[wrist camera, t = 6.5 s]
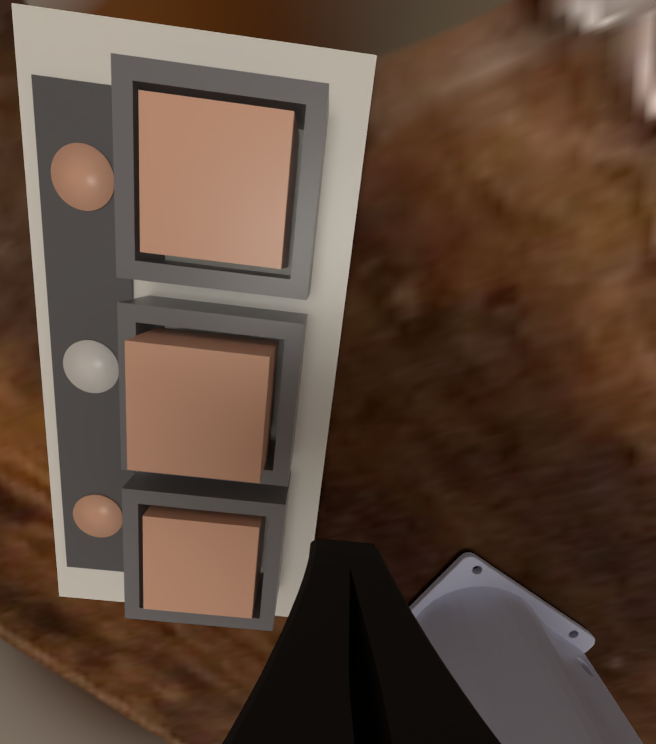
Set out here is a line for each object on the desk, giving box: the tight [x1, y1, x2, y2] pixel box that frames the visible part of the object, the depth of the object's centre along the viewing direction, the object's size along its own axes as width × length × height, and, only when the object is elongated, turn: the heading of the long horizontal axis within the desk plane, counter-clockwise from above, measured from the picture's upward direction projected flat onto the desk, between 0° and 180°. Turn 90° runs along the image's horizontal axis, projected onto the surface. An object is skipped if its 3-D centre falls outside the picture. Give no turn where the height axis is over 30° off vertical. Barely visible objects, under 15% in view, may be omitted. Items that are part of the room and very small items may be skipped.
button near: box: [138, 90, 300, 269], centre depth 13 cm, size 4×4×2 cm
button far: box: [143, 505, 266, 619], centre depth 17 cm, size 4×4×2 cm
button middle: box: [125, 327, 279, 483], centre depth 14 cm, size 4×4×2 cm
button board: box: [12, 3, 377, 631], centre depth 16 cm, size 24×12×4 cm, turn 173°
